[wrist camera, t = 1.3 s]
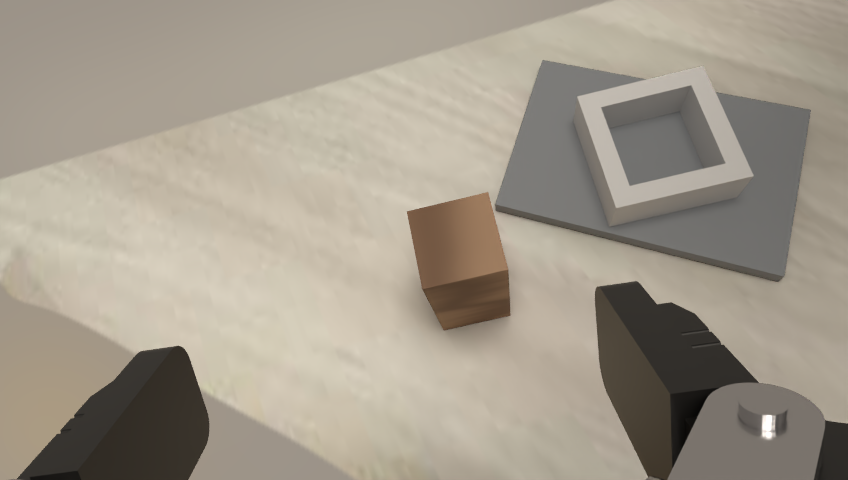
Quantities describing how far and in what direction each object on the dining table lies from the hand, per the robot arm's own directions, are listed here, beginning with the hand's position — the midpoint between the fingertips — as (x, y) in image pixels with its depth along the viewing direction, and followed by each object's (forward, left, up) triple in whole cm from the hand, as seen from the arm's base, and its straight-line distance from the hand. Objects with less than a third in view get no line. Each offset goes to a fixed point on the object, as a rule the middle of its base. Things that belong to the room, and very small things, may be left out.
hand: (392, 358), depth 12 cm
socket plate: (-6, -21, -27) cm, 34 cm away
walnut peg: (+3, -9, -27) cm, 28 cm away
